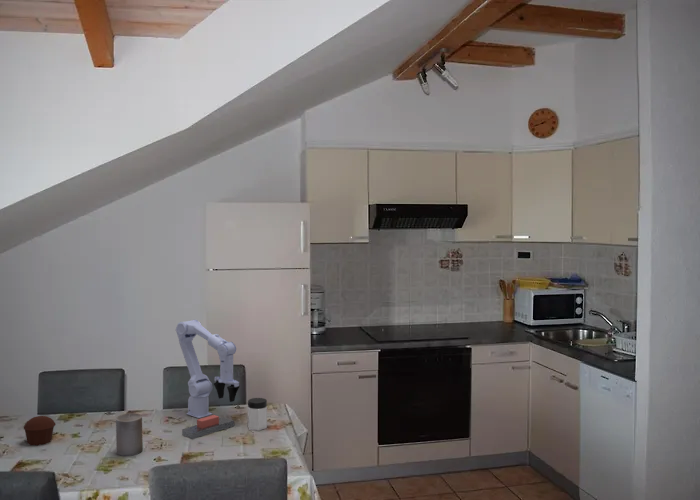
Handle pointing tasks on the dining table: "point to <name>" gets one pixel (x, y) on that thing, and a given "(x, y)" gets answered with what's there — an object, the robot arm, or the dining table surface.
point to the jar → (257, 414)
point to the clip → (208, 421)
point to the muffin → (39, 430)
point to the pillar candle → (129, 434)
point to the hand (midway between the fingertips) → (226, 399)
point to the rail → (207, 428)
